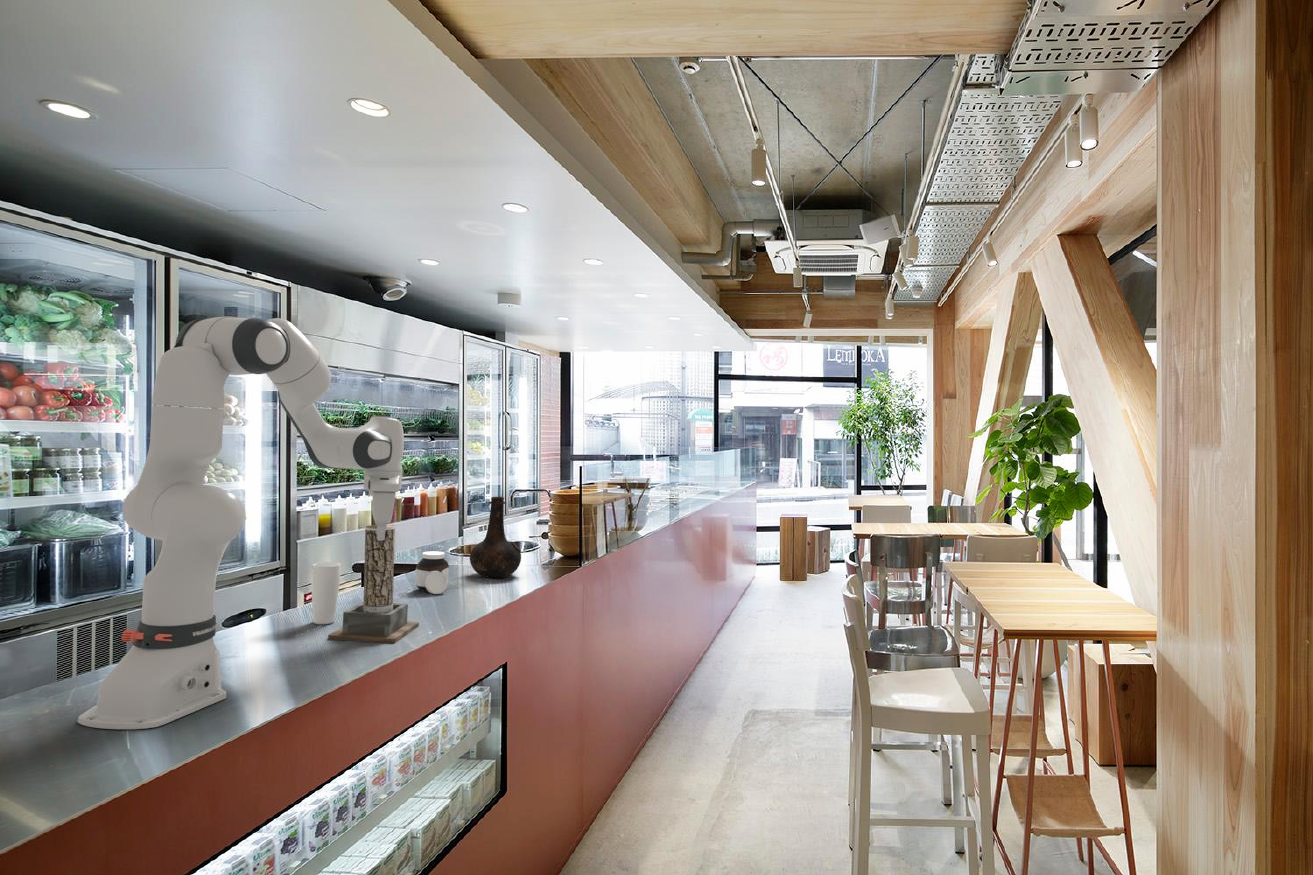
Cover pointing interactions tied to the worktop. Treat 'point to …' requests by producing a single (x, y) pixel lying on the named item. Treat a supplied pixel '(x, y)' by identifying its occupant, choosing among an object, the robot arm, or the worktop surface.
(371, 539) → the paper tube
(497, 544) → the dark brown vase
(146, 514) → the robot arm
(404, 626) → the grey square open box
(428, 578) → the spread jar
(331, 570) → the drinking glass
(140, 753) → the worktop surface
